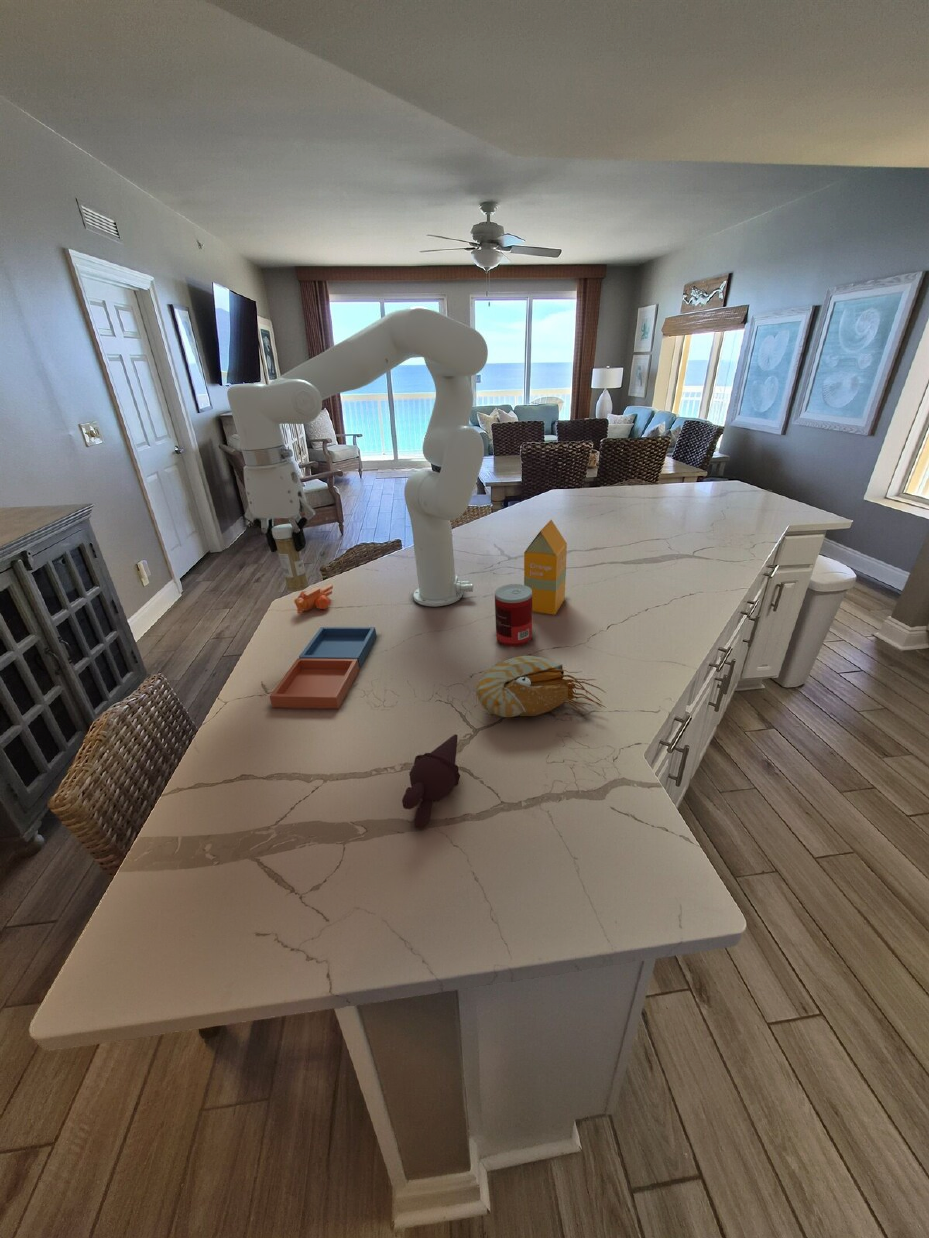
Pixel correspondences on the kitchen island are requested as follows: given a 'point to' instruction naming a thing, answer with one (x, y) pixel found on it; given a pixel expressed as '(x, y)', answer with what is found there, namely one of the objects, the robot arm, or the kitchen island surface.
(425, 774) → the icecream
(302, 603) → the orange toy motorcycle
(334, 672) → the terracotta tray
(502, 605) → the canned food
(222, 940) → the kitchen island surface
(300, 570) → the sprinkles bottle
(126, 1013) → the kitchen island surface
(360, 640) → the slate tray
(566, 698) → the nautilus
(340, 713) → the kitchen island surface
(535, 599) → the orange juice
